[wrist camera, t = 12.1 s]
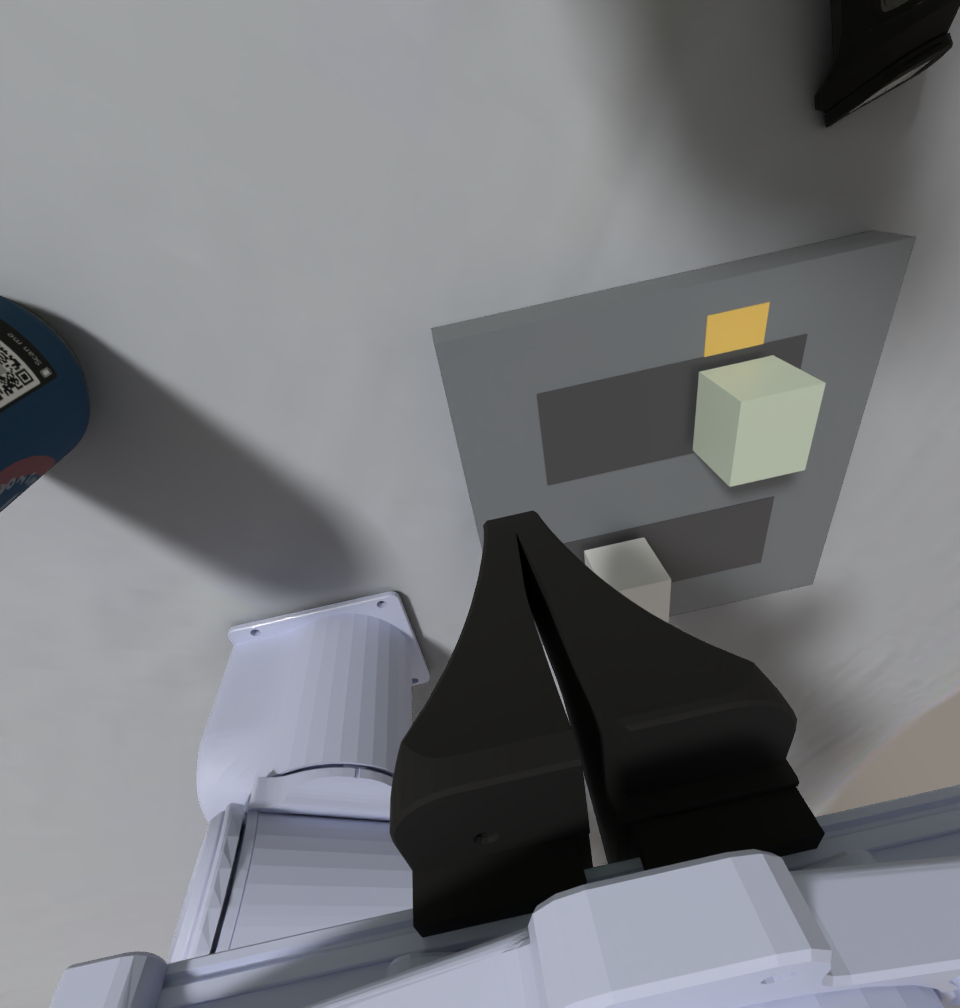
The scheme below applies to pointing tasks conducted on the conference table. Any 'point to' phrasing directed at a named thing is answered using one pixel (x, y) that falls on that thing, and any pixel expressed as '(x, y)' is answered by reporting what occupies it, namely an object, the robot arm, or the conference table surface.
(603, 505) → the switch panel
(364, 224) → the conference table surface
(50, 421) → the soda can
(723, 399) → the tab sage
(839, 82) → the electric trimmer
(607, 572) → the light grey block
